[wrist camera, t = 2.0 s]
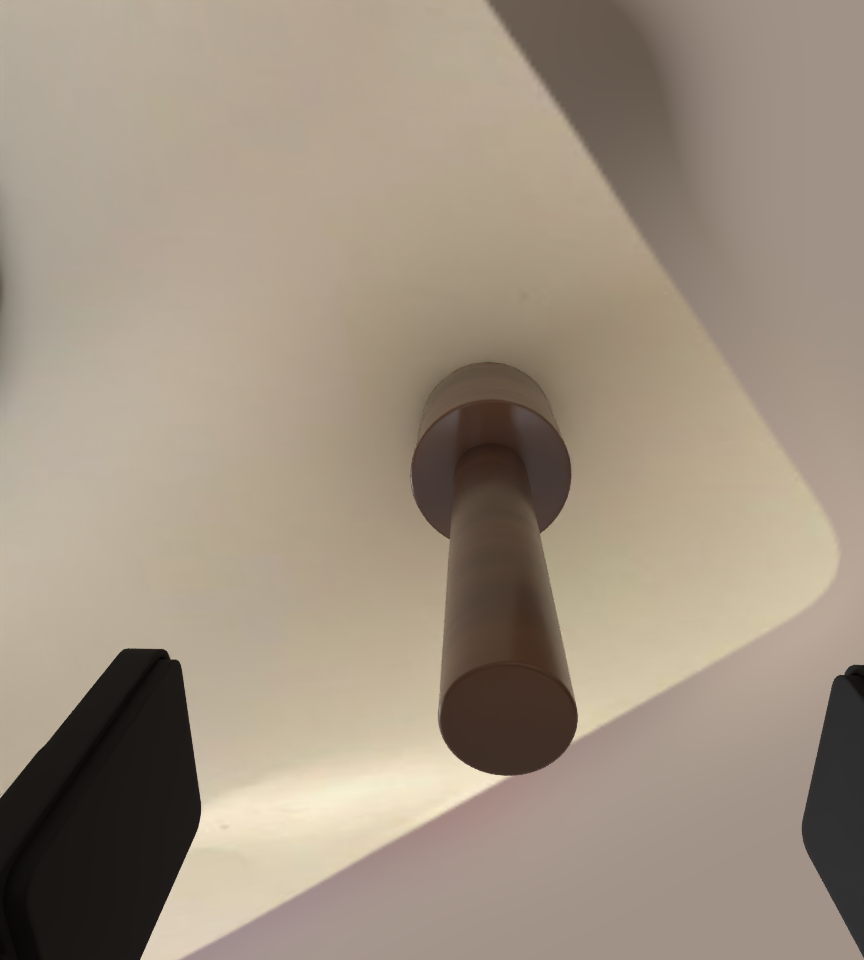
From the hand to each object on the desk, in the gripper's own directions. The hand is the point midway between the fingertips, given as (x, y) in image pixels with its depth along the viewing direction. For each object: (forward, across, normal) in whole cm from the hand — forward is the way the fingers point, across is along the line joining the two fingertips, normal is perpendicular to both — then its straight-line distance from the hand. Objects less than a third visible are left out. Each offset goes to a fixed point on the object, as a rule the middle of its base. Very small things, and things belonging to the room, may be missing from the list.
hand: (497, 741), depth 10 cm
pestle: (+15, 0, 0) cm, 15 cm away
